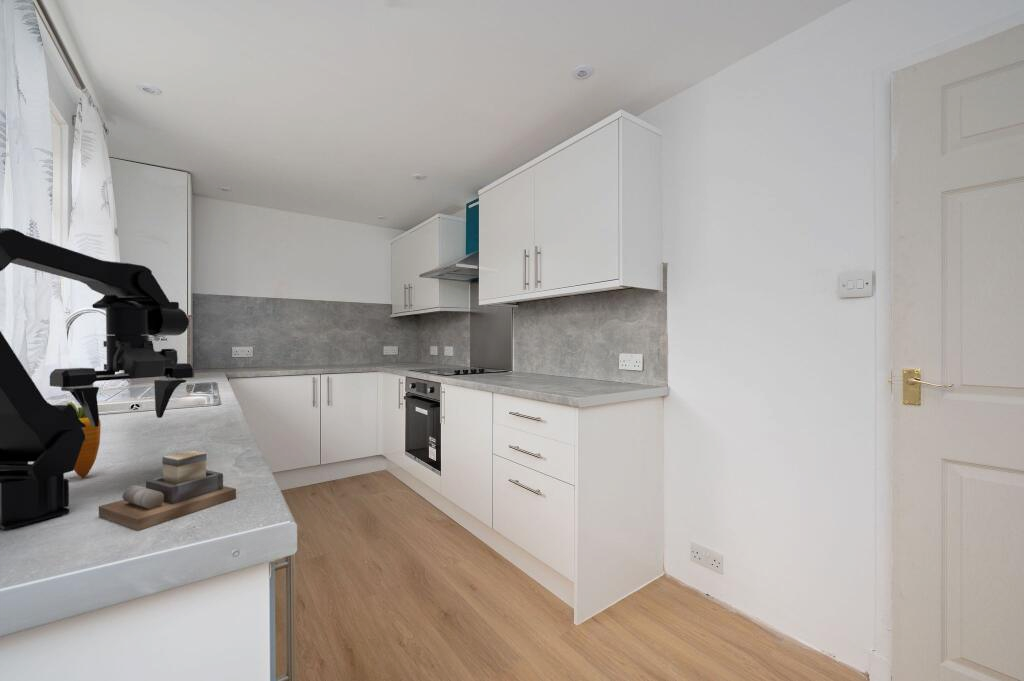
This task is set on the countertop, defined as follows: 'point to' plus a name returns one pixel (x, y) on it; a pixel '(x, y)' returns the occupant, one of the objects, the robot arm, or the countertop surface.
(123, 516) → the base
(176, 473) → the beige banded block
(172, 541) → the countertop surface
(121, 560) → the countertop surface
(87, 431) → the carrot
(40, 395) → the robot arm
